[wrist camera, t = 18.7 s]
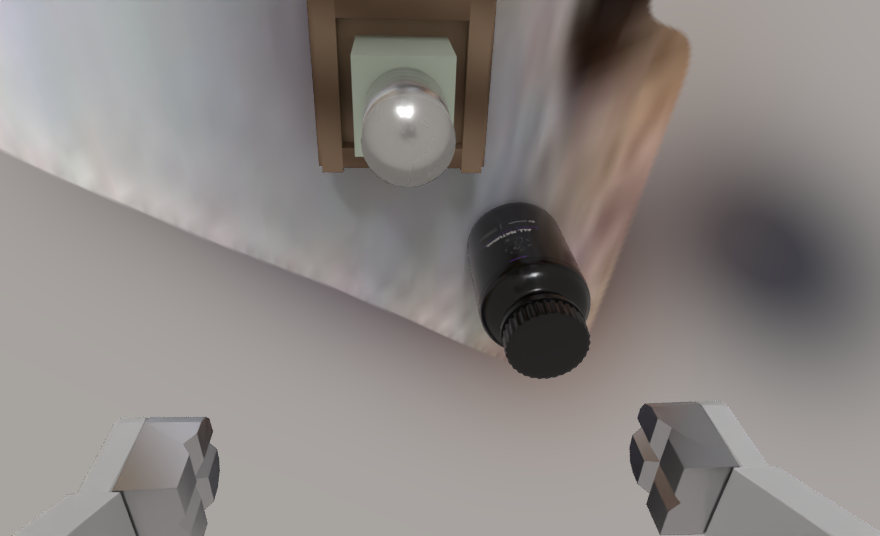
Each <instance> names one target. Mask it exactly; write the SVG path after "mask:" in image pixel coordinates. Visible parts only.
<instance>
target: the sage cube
mask: <svg viewBox="0 0 880 536" xmlns="http://www.w3.org/2000/svg"><path fill="white" fill-rule="evenodd" d="M456 61H457V56H456V54H455V52H454V50H453V48H452V45H451V43H450V41H449V39H448V37H420V36H371V35H355V39H354V43H353V47H352V51H351V77H352V100H353V123H354V146H355V157H364V156H363V153H362V148H361V133H362V123H363V114H364V104H365V98H366V95H367V92H368V90H369V88H370V86H371V85H372V83H373V82H374V81H375V80H376V79H377V78H378V77H379V76H380V75H382V74H383V73H385V72H387V71H388V70H391V69H394V68H399V67H410V68H415V69H418V70H421V71H423V72H425V73H427V74H428V75H429V76H431V77H432V78H433V79H434V80H435V81H436V82H437V84H438V85H439V87H440V88H441V90H442V92H443V95H444V98H445V102H446V105H447V108H448V111H449V114H450V117H451V121H452V124H453V127H454V106H455V84H456Z"/></svg>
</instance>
